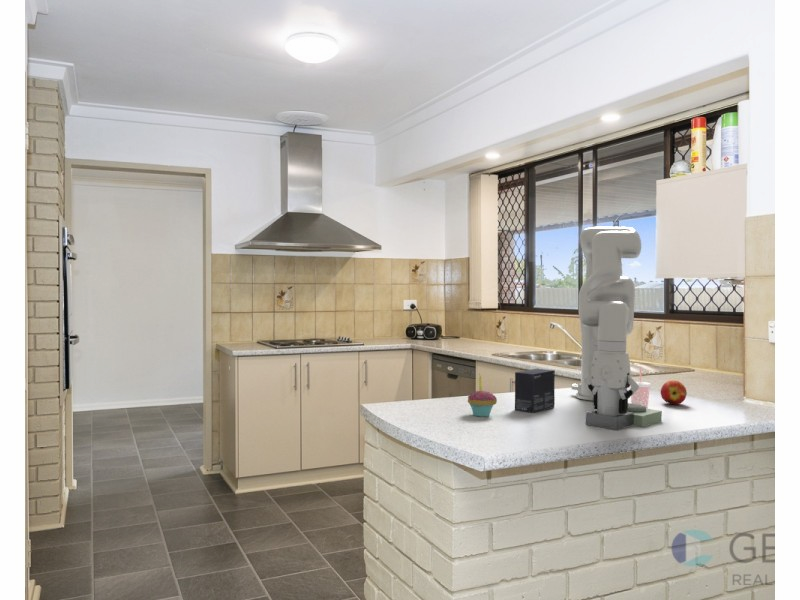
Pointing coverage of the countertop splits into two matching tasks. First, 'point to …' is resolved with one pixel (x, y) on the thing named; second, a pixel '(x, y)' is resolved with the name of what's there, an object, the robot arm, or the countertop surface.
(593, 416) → the frame
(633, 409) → the green domed square base
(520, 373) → the small box
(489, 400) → the cupcake
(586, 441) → the countertop surface
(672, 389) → the apple
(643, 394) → the beverage cup
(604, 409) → the skincare box
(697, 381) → the countertop surface
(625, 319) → the robot arm
